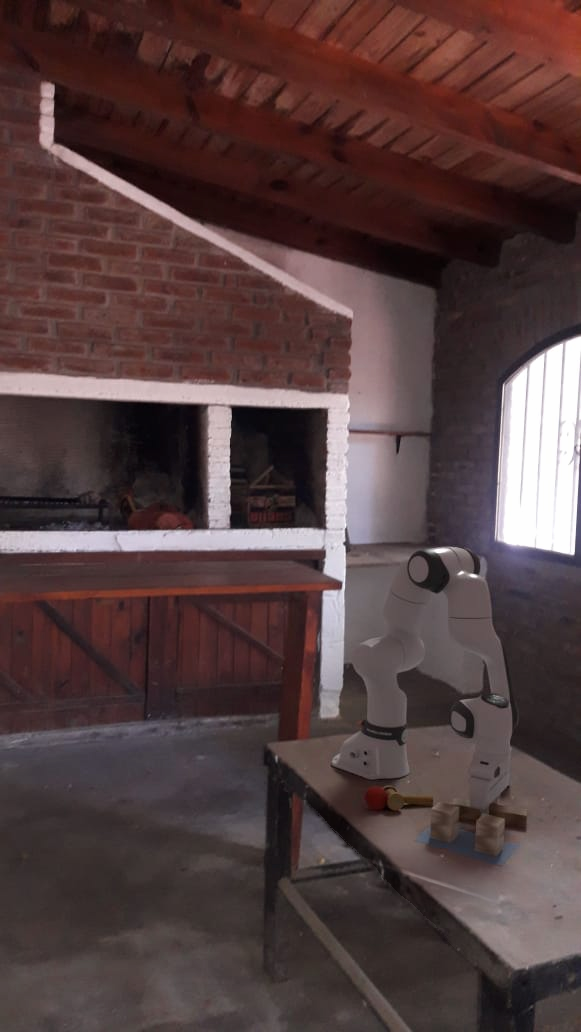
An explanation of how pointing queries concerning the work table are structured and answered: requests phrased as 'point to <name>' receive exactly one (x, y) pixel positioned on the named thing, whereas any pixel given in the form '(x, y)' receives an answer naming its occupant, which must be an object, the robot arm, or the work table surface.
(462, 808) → the beam
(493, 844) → the pillar right
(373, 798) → the kendama
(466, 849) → the board
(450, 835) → the pillar left
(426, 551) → the robot arm
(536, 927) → the work table surface
